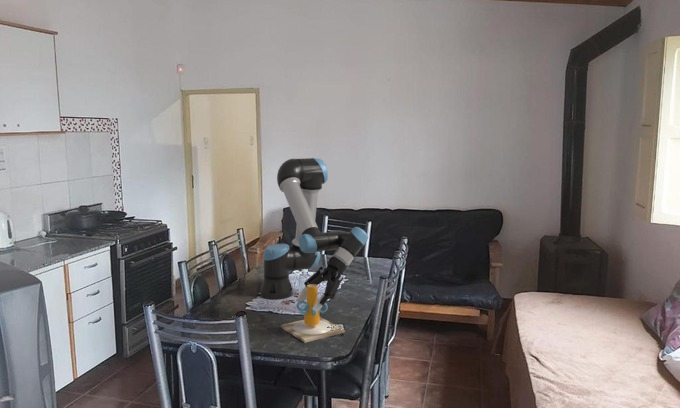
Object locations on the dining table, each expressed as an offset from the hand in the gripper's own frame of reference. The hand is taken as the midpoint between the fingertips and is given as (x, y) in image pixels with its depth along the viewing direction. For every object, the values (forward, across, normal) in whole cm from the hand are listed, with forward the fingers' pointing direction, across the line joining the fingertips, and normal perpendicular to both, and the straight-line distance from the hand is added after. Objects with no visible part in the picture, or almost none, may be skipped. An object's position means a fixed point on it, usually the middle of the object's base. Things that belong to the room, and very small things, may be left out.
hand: (306, 306), depth 203 cm
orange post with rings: (+3, 0, -7) cm, 8 cm away
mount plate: (+5, 0, -9) cm, 10 cm away
